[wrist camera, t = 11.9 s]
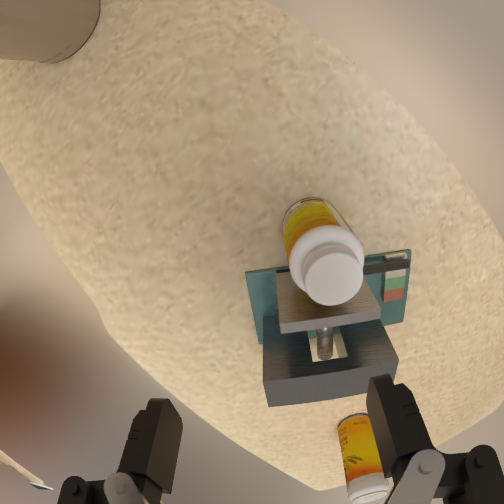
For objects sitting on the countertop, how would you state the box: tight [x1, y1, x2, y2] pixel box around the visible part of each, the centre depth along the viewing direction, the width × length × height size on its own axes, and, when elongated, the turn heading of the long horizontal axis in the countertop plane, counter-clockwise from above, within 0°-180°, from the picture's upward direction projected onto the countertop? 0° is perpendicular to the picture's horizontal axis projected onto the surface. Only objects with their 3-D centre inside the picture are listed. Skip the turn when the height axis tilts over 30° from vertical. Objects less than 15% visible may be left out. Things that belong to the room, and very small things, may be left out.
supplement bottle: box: [283, 198, 364, 306], centre depth 23 cm, size 6×6×10 cm
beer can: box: [338, 414, 389, 504], centre depth 35 cm, size 6×6×15 cm
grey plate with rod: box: [276, 259, 410, 360], centre depth 27 cm, size 8×14×8 cm, turn 99°
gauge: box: [245, 249, 411, 407], centre depth 27 cm, size 10×18×10 cm, turn 99°
